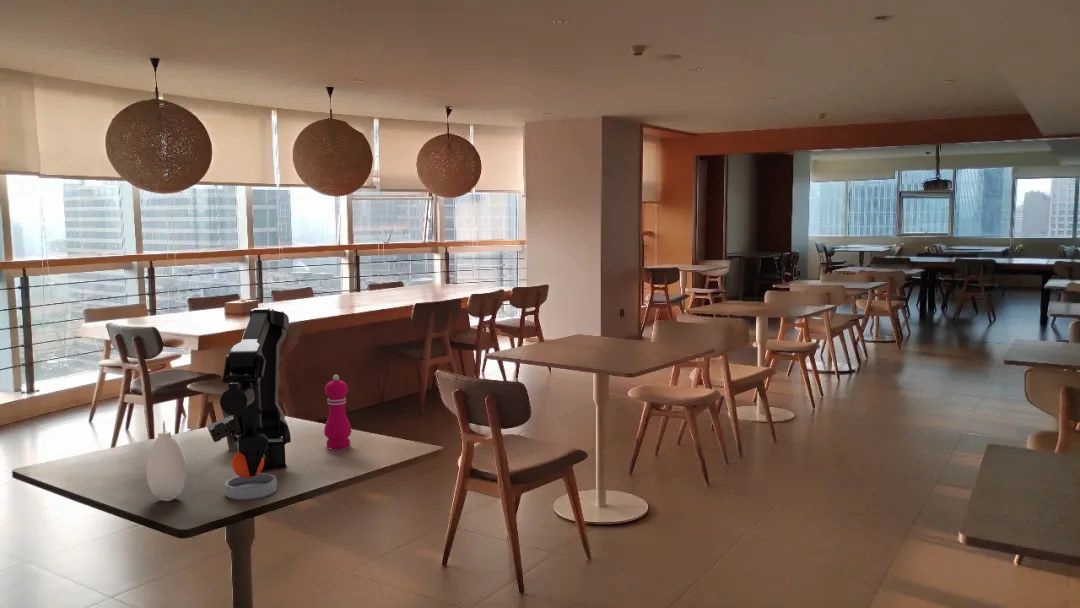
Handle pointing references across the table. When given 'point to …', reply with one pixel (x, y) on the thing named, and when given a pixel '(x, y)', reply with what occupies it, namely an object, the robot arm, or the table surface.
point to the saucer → (251, 487)
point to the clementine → (244, 465)
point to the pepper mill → (337, 415)
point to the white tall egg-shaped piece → (166, 467)
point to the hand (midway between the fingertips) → (250, 471)
